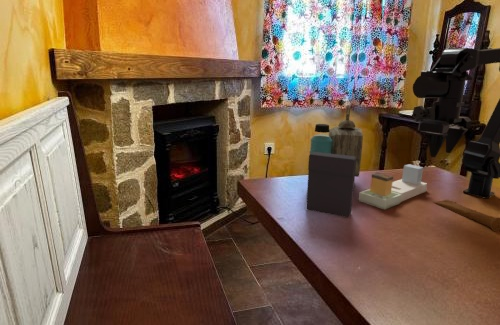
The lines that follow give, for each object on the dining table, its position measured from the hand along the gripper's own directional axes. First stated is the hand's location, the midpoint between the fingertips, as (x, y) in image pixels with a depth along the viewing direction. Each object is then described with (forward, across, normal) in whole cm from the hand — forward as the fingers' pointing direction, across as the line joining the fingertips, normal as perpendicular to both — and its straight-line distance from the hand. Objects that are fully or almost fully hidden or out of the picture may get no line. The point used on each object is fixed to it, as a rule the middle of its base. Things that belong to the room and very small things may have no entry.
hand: (440, 154), depth 98 cm
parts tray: (+13, +15, -8) cm, 21 cm away
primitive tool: (+14, +5, +10) cm, 18 cm away
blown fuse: (+13, +15, -8) cm, 21 cm away
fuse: (+13, -2, -8) cm, 15 cm away
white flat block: (+13, +2, -8) cm, 15 cm away
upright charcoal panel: (+13, +32, -12) cm, 37 cm away
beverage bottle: (+13, +21, -25) cm, 35 cm away
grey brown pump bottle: (+13, +10, -25) cm, 30 cm away
